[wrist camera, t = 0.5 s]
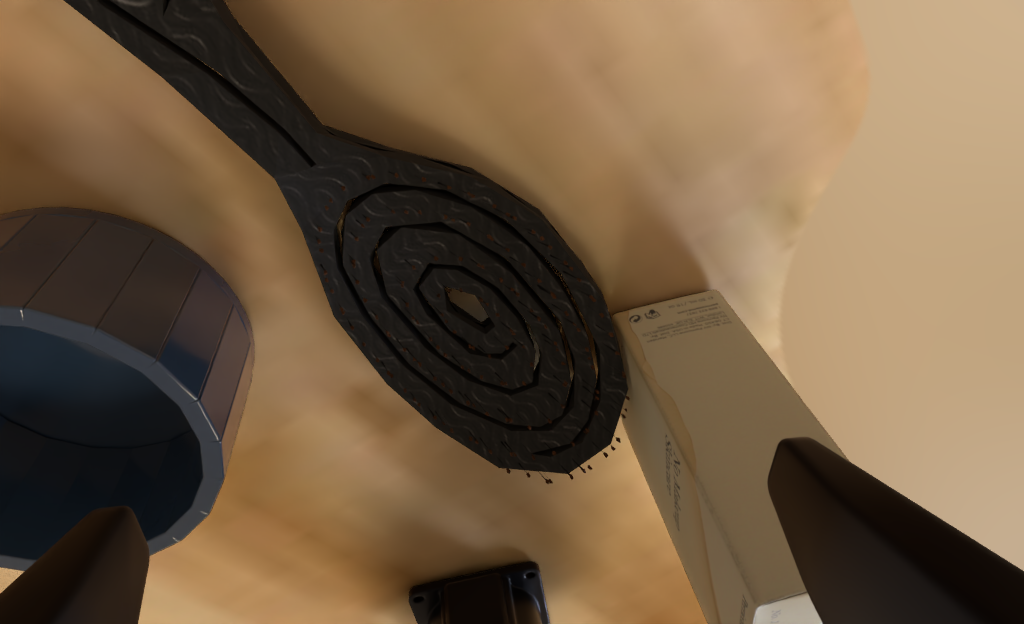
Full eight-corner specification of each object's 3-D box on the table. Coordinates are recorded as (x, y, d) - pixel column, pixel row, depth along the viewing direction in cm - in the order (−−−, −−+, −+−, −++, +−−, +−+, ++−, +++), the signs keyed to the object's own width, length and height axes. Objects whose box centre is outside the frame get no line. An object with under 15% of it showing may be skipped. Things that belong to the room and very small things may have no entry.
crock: (293, 417, 26) (271, 533, 21) (32, 470, 26) (-46, 600, 21) (186, 178, 20) (126, 268, 16) (-151, 241, 20) (-312, 352, 15)
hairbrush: (29, -429, 11) (690, 423, 23) (114, -358, 15) (659, 361, 27) (-241, -97, 13) (500, 534, 25) (-114, -97, 16) (491, 464, 28)
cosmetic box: (608, 310, 25) (748, 601, 15) (722, 283, 25) (935, 555, 15) (621, 427, 29) (741, 726, 19) (721, 404, 29) (893, 689, 19)
